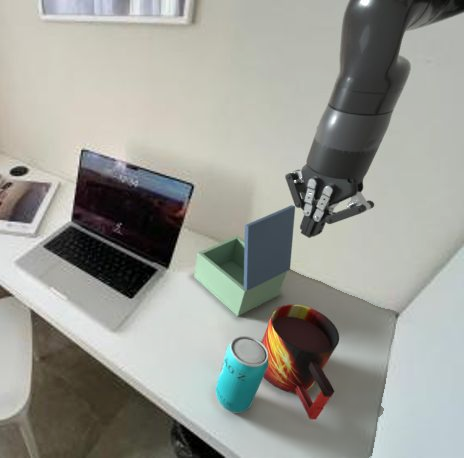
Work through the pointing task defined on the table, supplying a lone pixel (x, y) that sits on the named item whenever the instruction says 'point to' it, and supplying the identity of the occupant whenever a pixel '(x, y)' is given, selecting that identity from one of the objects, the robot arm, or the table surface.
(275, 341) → the mug
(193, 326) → the table surface
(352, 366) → the table surface
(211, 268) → the storage box
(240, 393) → the beverage can
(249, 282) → the box lid
